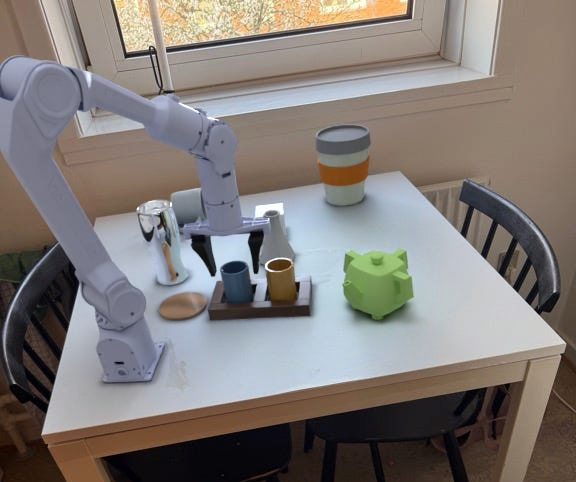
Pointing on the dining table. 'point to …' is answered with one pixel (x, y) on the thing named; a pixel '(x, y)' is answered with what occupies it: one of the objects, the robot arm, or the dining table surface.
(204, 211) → the ceramic mug
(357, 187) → the reusable coffee cup
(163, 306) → the coaster
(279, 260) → the ochre cup
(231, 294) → the blue cup
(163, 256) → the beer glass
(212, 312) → the cup holder
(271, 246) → the flask
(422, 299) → the dining table surface
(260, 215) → the white cube
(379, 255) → the teapot
